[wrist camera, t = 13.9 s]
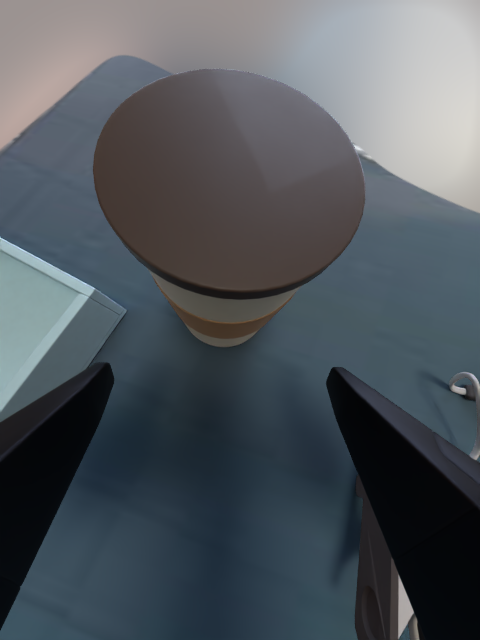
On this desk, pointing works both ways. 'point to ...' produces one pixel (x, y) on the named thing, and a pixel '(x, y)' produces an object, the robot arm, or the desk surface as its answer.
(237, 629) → the desk surface
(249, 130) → the cup
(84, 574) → the desk surface
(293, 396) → the desk surface
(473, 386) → the clip-on lamp
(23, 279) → the tub
